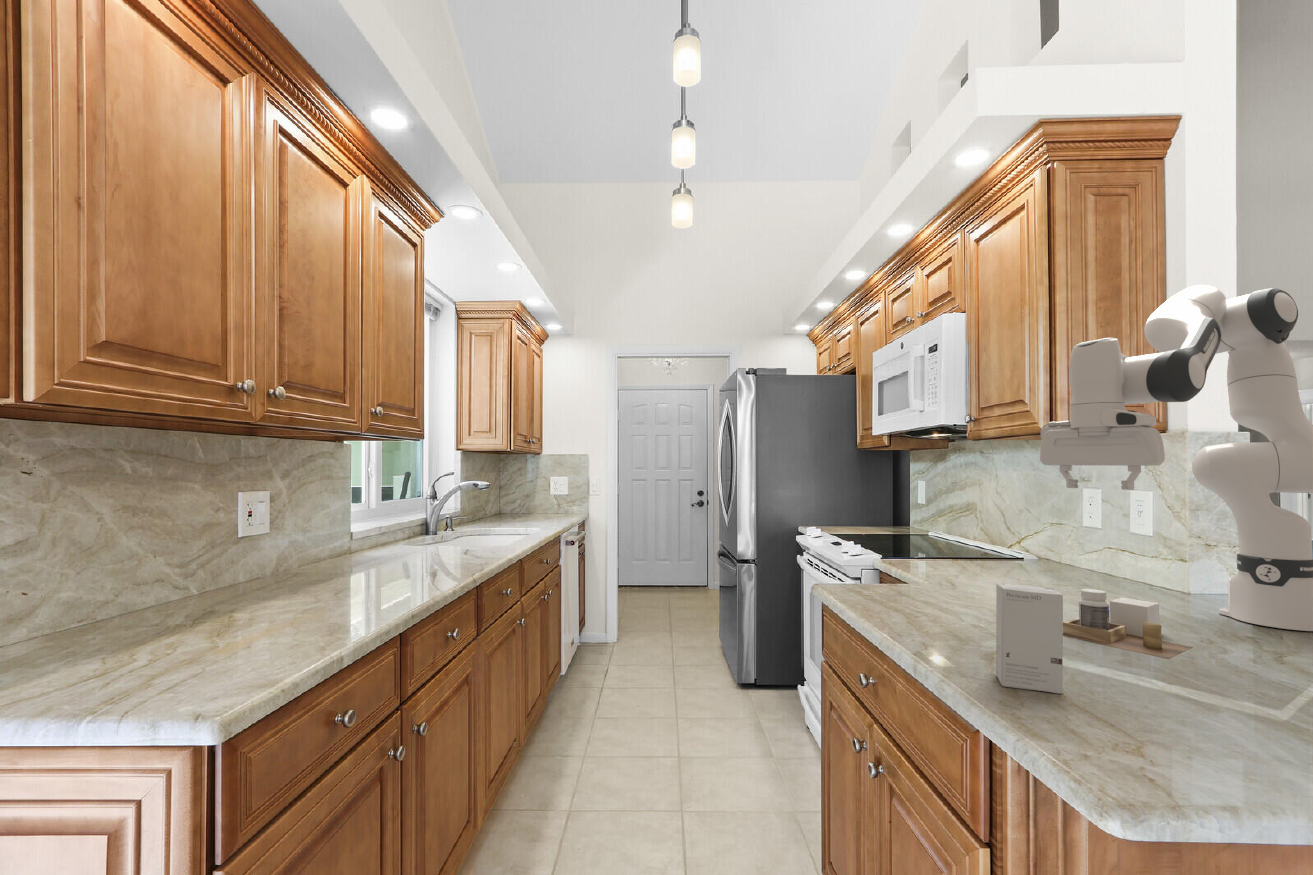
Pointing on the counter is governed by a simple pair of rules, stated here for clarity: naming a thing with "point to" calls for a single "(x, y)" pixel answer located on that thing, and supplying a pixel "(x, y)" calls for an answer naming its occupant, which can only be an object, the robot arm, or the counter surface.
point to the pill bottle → (1094, 609)
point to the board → (1126, 638)
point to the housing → (1133, 614)
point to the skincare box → (1029, 637)
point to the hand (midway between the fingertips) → (1099, 489)
